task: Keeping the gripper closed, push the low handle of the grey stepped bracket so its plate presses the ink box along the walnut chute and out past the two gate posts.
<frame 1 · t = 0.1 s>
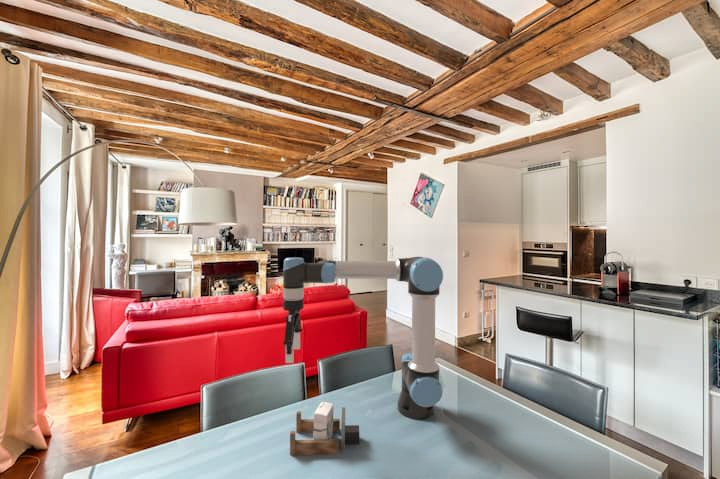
hand: (293, 355, 115), 28 cm above the table, fingers open, 13 cm apart
chute: (318, 441, 108), on the table
ink box: (323, 442, 108), on the table
grey stepped bracket: (350, 427, 109), point 5 cm above the table, slide at 0.0 cm
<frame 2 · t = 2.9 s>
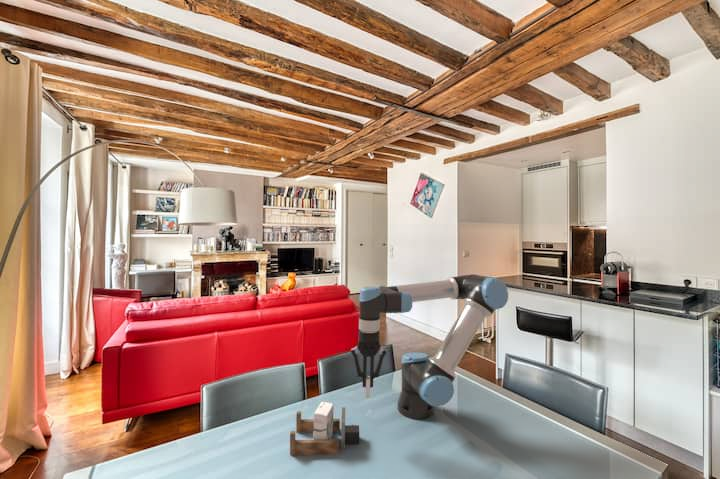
hand: (367, 395, 110), 15 cm above the table, fingers closed
nothing on the table moved.
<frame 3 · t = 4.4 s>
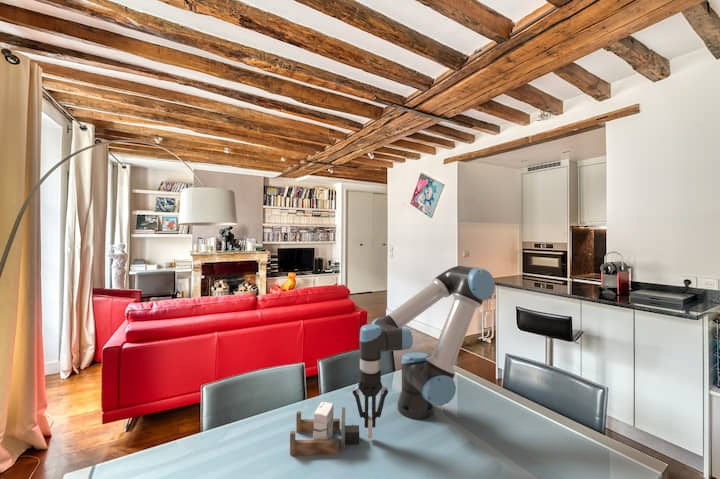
hand: (369, 435, 109), 2 cm above the table, fingers closed
nothing on the table moved.
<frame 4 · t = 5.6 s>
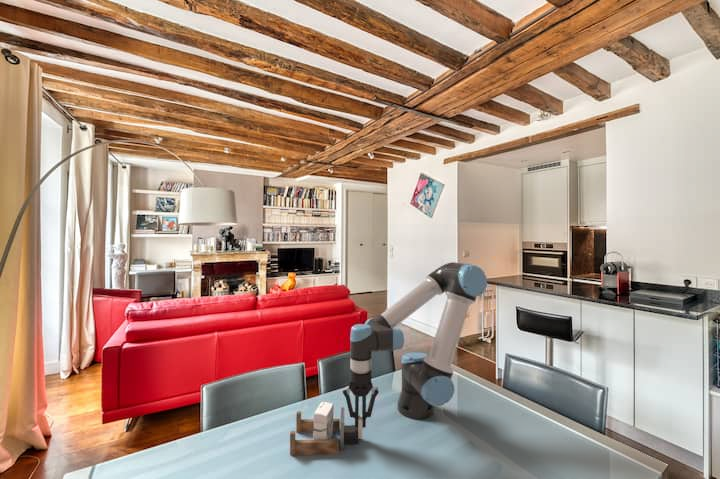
hand: (360, 435, 109), 2 cm above the table, fingers closed
grey stepped bracket: (349, 427, 109), point 5 cm above the table, slide at 0.4 cm, touching gripper
everything else where it was.
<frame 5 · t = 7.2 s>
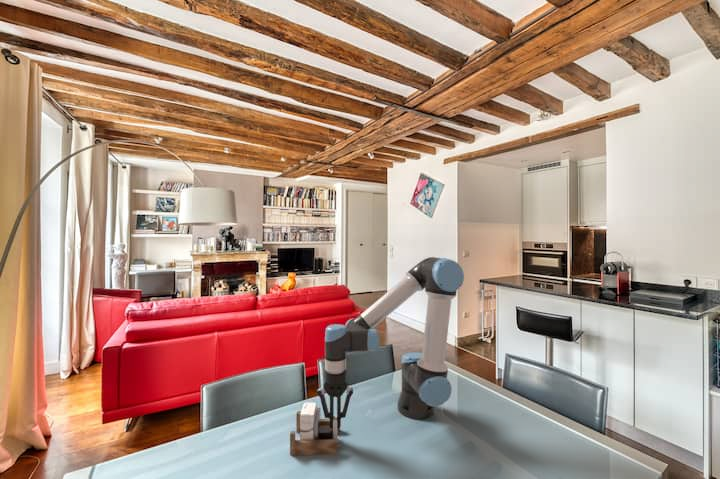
hand: (335, 436, 108), 2 cm above the table, fingers closed
ink box: (309, 442, 108), on the table, touching grey stepped bracket
grey stepped bracket: (324, 427, 108), point 5 cm above the table, slide at 9.2 cm, touching gripper, ink box
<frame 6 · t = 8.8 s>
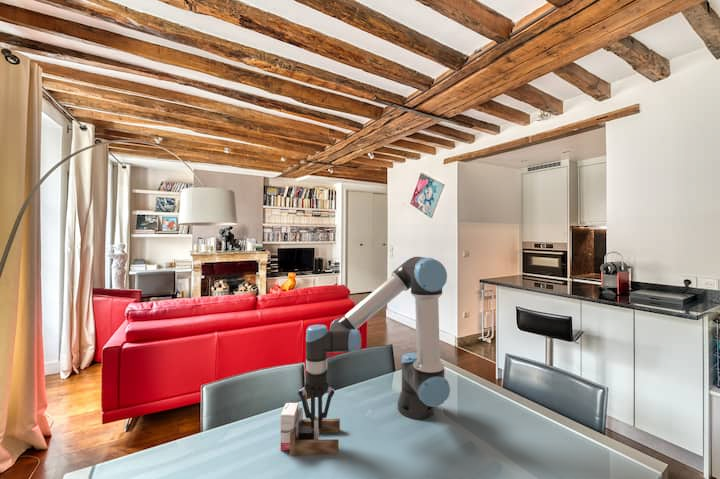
hand: (316, 436, 108), 2 cm above the table, fingers closed
ink box: (290, 442, 108), on the table, touching grey stepped bracket
grey stepped bracket: (305, 428, 108), point 5 cm above the table, slide at 15.8 cm, touching gripper, ink box
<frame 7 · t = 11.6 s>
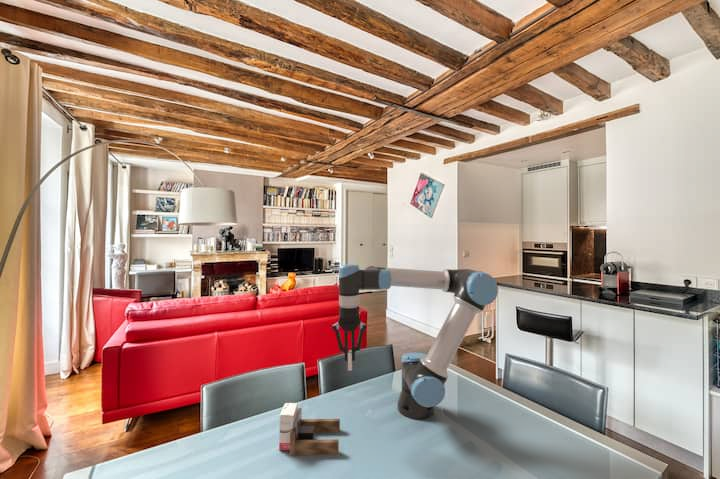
hand: (349, 369, 114), 23 cm above the table, fingers closed
grey stepped bracket: (304, 428, 108), point 5 cm above the table, slide at 16.1 cm, touching ink box
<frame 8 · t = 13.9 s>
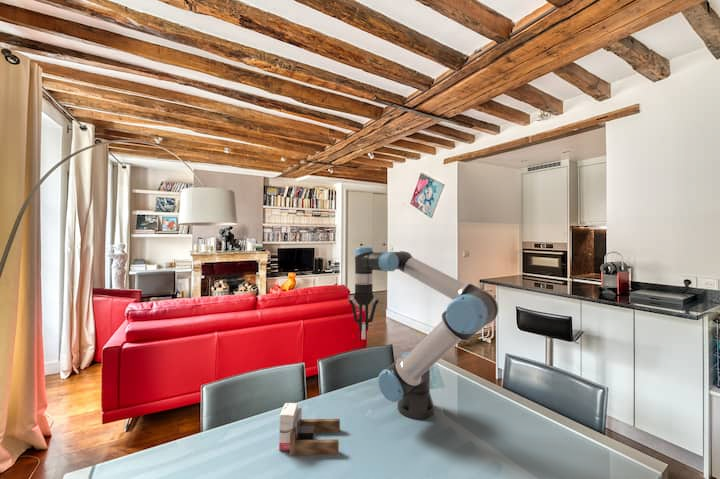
hand: (363, 338, 131), 29 cm above the table, fingers closed
nothing on the table moved.
at the end: ink box inside the target area (6.4 cm from its centre), on the table; ink box tilted 1°; grey stepped bracket slide at 16.1 cm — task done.
